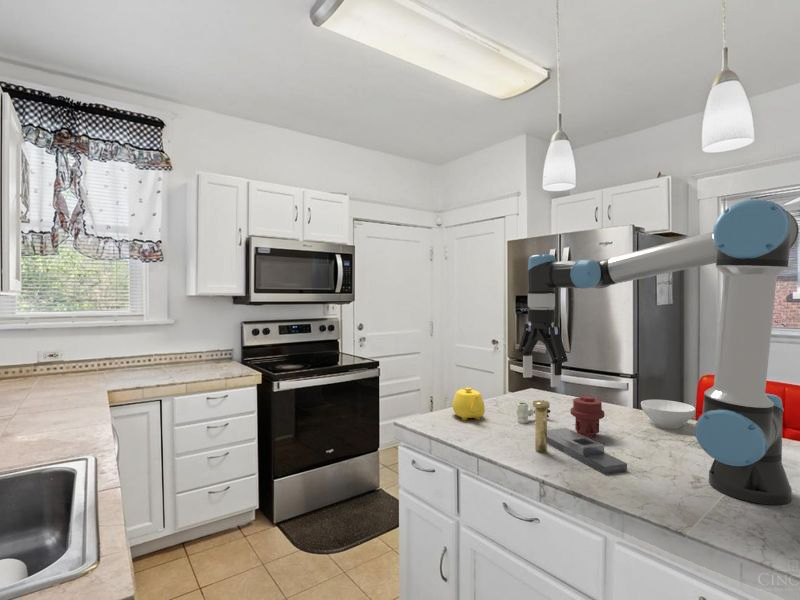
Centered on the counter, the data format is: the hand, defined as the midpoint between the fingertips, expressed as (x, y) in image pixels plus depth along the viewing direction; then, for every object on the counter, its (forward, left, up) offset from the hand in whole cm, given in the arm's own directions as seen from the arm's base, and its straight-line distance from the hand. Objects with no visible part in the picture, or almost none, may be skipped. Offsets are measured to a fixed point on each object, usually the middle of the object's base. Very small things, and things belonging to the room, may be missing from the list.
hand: (540, 381), depth 128 cm
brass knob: (0, 0, -20) cm, 20 cm away
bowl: (+7, -55, -20) cm, 59 cm away
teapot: (+37, +5, -20) cm, 42 cm away
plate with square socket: (-7, -9, -20) cm, 23 cm away
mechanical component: (+7, -22, -20) cm, 31 cm away
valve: (+27, -15, -21) cm, 37 cm away
